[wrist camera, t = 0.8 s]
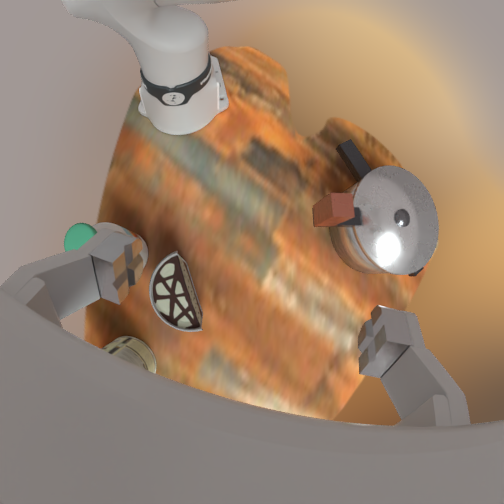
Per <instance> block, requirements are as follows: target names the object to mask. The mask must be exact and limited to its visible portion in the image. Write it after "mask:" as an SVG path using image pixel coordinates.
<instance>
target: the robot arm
mask: <svg viewBox="0 0 504 504" xmlns="http://www.w3.org/2000/svg"><path fill="white" fill-rule="evenodd" d="M61 1H62V4H63V6H64V8H65V9H66V10H67V11H68V12H69V13H70V14H71V15H73V16H74V17H76V18H82V19H88V20H92V21H96V22H99V23H101V24H103V25H105V26H108V27H109V28H111V29H113V30H114V31H116V32H117V33H119V34H120V35H121V36H122V37H124V38H125V39H126V40H127V41H128V42H129V44H130V45H131V46H132V48H133V49H134V52H135V54H136V56H137V59H138V61H139V64H140V66H141V70H140V73H141V80H142V83H141V84H142V85H141V87H140V88H139V93H140V96H141V102H140V104H139V106H138V110H139V113H140V114H142V115H143V116H145V117H148V118H149V120H150V121H151V122H152V124H153V125H154V126H155V127H156V128H157V129H158V130H160V131H162V132H164V133H167V134H172V135H183V134H189V133H192V132H195V131H197V130H199V129H201V128H203V127H204V126H206V125H207V124H208V123H209V122H210V121H211V120H212V119H213V118H214V116H215V115H216V114H218V113H220V112H222V111H223V110H225V109H227V108H228V106H229V101H228V97H227V93H226V89H225V86H224V82H223V78H222V74H221V70H220V66H219V62H218V59H217V58H215V57H213V56H210V53H209V51H208V28H207V26H206V24H205V23H204V21H203V20H202V19H201V17H199V16H198V15H197V14H196V13H194V12H193V11H190V10H188V9H185V8H182V7H179V6H177V5H183V4H204V3H220V2H228V1H236V0H61ZM220 99H224V100H220ZM142 249H143V248H142V241H141V240H140V239H139V238H137V237H134V236H131V235H128V234H125V233H122V232H119V231H115V230H112V229H109V228H102V229H101V230H100V231H99V232H98V233H96V234H95V235H94V236H93V237H92V238H91V239H89V240H88V241H87V242H86V243H85V244H84V245H82V246H81V247H80V248H79V249H78V250H75V249H73V250H70V251H66V252H63V253H60V254H57V255H54V256H51V257H48V258H45V259H42V260H39V261H36V262H33V263H30V264H27V265H24V266H22V267H20V268H19V269H18V270H17V271H16V272H14V274H12V275H11V276H10V277H9V278H8V279H7V280H6V281H5V282H4V283H3V284H2V285H1V286H0V504H504V420H502V421H496V422H488V423H480V424H470V418H469V413H468V408H467V403H466V398H465V394H464V393H463V392H462V390H461V389H460V388H459V387H458V385H457V384H456V383H455V381H454V380H453V379H452V377H450V375H449V374H448V373H447V371H446V370H445V369H444V367H443V366H442V365H441V364H440V362H439V361H438V360H437V359H436V357H435V356H434V355H433V354H432V353H431V351H430V350H428V349H426V348H425V345H424V341H423V337H422V334H421V329H420V326H419V323H418V319H417V316H416V315H415V314H414V313H411V312H406V311H400V310H396V309H392V308H388V307H384V306H379V305H377V306H376V307H375V308H374V309H373V310H372V312H371V318H372V319H370V320H368V321H366V322H365V323H364V325H363V326H362V328H361V330H360V333H359V336H358V348H359V350H360V351H361V353H362V354H361V356H360V357H359V374H362V375H367V376H373V377H378V378H381V379H380V380H381V381H382V383H383V385H384V387H385V389H386V391H387V393H388V394H389V397H390V398H391V400H392V402H393V404H394V406H395V408H396V410H397V412H398V414H399V415H400V417H401V421H400V422H398V423H397V424H396V425H394V426H382V425H381V426H380V425H368V424H357V423H347V422H339V421H332V420H325V419H318V418H312V417H306V416H301V415H295V414H290V413H285V412H280V411H276V410H271V409H267V408H263V407H258V406H254V405H250V404H247V403H243V402H239V401H235V400H232V399H228V398H225V397H221V396H218V395H215V394H212V393H208V392H205V391H202V390H199V389H196V388H193V387H190V386H187V385H184V384H182V383H179V382H176V381H173V380H171V379H168V378H165V377H163V376H160V375H158V374H155V373H153V372H150V371H148V370H145V369H143V368H141V367H138V366H136V365H134V364H131V363H129V362H127V361H125V360H123V359H120V358H118V357H116V356H114V355H112V354H110V353H108V352H106V351H104V350H102V349H100V348H98V347H96V346H94V345H92V344H90V343H88V342H86V341H84V340H82V339H80V338H79V337H77V336H75V335H73V334H71V333H70V332H68V331H66V330H64V329H63V327H62V324H61V322H60V320H61V319H63V318H65V317H66V316H68V315H70V314H72V313H74V312H76V311H78V310H79V309H81V308H83V307H85V306H87V305H89V304H91V303H93V302H95V301H96V300H98V299H100V297H101V298H104V299H106V300H109V301H111V302H114V303H116V304H119V305H120V304H121V303H122V301H123V300H124V299H125V297H126V296H127V295H128V294H129V287H130V286H133V285H135V284H136V283H137V282H138V281H139V279H140V277H141V274H142V272H143V258H142V257H141V255H140V254H139V253H140V252H141V250H142Z"/></svg>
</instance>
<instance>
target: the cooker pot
mask: <svg viewBox="0 0 504 504" xmlns="http://www.w3.org/2000/svg"><path fill="white" fill-rule="evenodd" d="M336 150H337V152H338V153H339V155H340V156H341V157H342V159H343V160H344V162H345V163H346V165H347V166H348V168H349V170H350V171H351V173H352V174H353V176H354V177H355V179H356V180H357V183H356V184H354V185H353V186H351V187H350V188H348V189H347V190H345V191H344V192H343V193H347V194H352V195H353V194H354V191H355V189H356V187H357V185H358V183H359V182H360V180H361V179H362V178H363V177H364V176H365V175H366V174H368V173H369V172H371V171H372V170H371V169H370V167H369V166H368V164H367V163H366V161H365V160H364V158H363V157H362V155H361V154H360V152H359V151H358V149H357V148H356V146H355V145H354V143H353V142H352V140H351V139H350V140H348V141H346V142H344V143H342V144H340V145H339V146H338V147H337V148H336ZM329 231H330V237H331V241H332V244H333V246H334V248H335V250H336V252H337V254H338V255H339V257H340V258H341V259H342V260H343V261H344V262H345V263H346V264H347V265H348V266H349V267H351V268H352V269H354V270H356V271H359V272H362V273H367V274H375V273H387V272H384V271H382V270H380V269H379V268H377V267H376V266H375V265H373V264H372V263H371V262H370V261H369V260H368V259H367V257H366V256H365V255H364V253H363V252H362V250H361V249H360V247H359V245H358V243H357V241H356V238H355V235H354V232H353V228H352V227H329ZM422 269H423V267H422V268H421V269H420V270H418V271H416V272H414V273H411V274H409V276H416V275H417V274H418V273H419V272H420V271H421V270H422Z"/></svg>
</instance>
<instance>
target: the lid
mask: <svg viewBox="0 0 504 504" xmlns="http://www.w3.org/2000/svg"><path fill="white" fill-rule="evenodd" d="M312 209H313V224H314V227H352V228H353V232H354V235H355V238H356V241H357V243H358V245H359V247H360V249H361V250H362V252H363V253H364V255H365V256H366V257H367V259H368V260H369V261H370V262H371V263H372V264H373V265H375V266H376V267H377V268H379V269H380V270H382V271H384V272H387V273H390V274H395V275H406V274H411V273H414V272H416V271H418V270H420V269H421V268H422V267H423V266H425V265H426V263H427V262H428V261H429V260H430V258H431V257H432V255H433V253H434V250H435V248H436V244H437V240H438V229H439V228H438V227H439V226H438V217H437V212H436V208H435V205H434V202H433V200H432V198H431V195H430V194H429V192H428V190H427V189H426V187H425V186H424V185H423V184H422V182H421V181H420V180H419V179H418V178H417V177H416V176H414V175H413V174H412V173H410V172H409V171H407V170H405V169H403V168H400V167H396V166H382V167H378V168H376V169H374V170H372V171H371V172H369V173H368V174H366V175H365V176H364V177H363V178H362V179H361V180H360V182H359V183H358V185H357V187H356V189H355V191H354V194H353V195H352V194H347V193H330V194H328V195H327V196H326V197H324V198H323V199H322V200H320V201H319V202H318V203H316V204H315V205H313V208H312Z"/></svg>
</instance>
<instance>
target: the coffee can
mask: <svg viewBox="0 0 504 504" xmlns="http://www.w3.org/2000/svg"><path fill="white" fill-rule="evenodd" d="M102 350H104V351H106V352H108V353H110V354H112V355H114V356H116V357H118V358H120V359H123V360H125V361H127V362H129V363H131V364H134V365H136V366H138V367H141V368H143V369H145V370H148V371H150V372H153V373H155V372H156V359H155V357H154V354H153V352H152V351H151V349H150V348H149V347H148V346H147V345H146V344H145V343H144V342H143V341H141V340H139V339H137V338H135V337H131V336H122V337H119V338H117V339H115V340H114V341H112V342H111V343H110V344H108V345H106V346H105V347H103V348H102Z"/></svg>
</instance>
